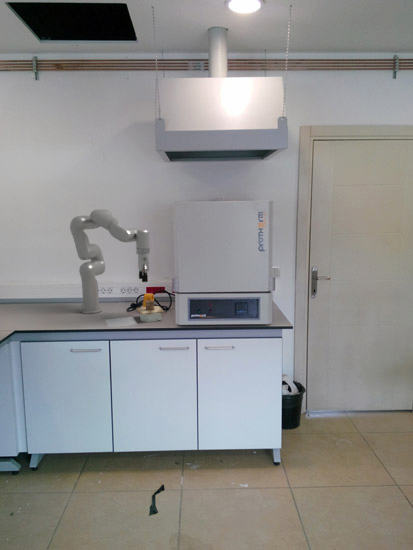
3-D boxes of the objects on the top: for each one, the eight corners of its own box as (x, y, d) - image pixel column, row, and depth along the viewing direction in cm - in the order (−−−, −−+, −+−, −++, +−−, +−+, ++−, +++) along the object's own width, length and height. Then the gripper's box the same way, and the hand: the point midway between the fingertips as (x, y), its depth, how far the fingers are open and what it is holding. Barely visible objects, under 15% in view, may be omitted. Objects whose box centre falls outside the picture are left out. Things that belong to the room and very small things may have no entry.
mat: (108, 328, 208) (108, 327, 208) (105, 320, 223) (105, 319, 223) (137, 325, 213) (137, 324, 213) (132, 317, 228) (132, 316, 228)
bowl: (142, 323, 217) (142, 314, 216) (139, 318, 227) (138, 309, 226) (162, 321, 221) (162, 312, 220) (157, 316, 231) (157, 307, 230)
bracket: (153, 315, 234) (153, 296, 232) (142, 314, 236) (141, 295, 234) (159, 310, 244) (159, 292, 242) (149, 309, 246) (148, 291, 244)
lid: (140, 315, 214) (140, 304, 213) (136, 309, 227) (136, 299, 226) (164, 312, 219) (164, 302, 218) (158, 307, 231) (158, 297, 231)
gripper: (152, 252, 214) (152, 282, 217) (146, 249, 230) (146, 277, 233) (139, 253, 211) (139, 283, 214) (133, 249, 227) (134, 277, 230)
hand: (143, 280), depth 223 cm, fingers open, 9 cm apart
